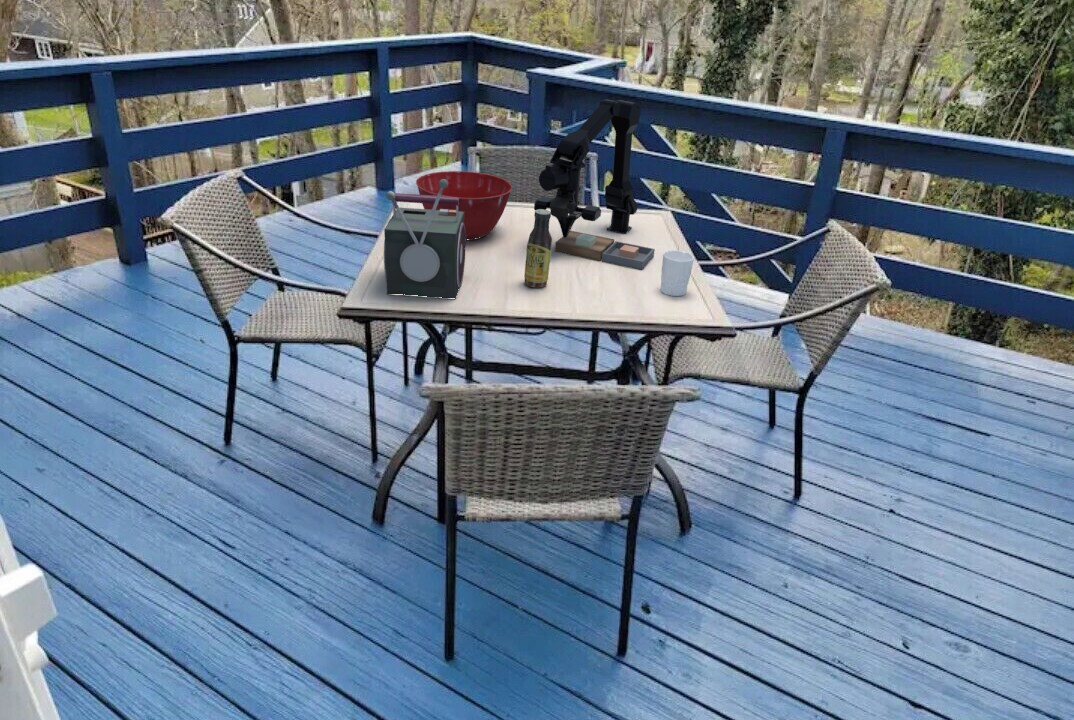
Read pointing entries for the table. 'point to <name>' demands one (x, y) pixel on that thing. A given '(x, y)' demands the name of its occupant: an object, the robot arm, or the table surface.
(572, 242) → the walnut board
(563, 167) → the robot arm
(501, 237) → the table surface
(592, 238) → the sage tile
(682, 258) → the white cup
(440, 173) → the mixing bowl
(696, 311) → the table surface
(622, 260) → the tray
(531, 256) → the sauce bottle
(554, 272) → the table surface
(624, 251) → the terracotta tile
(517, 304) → the table surface
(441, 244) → the boombox
